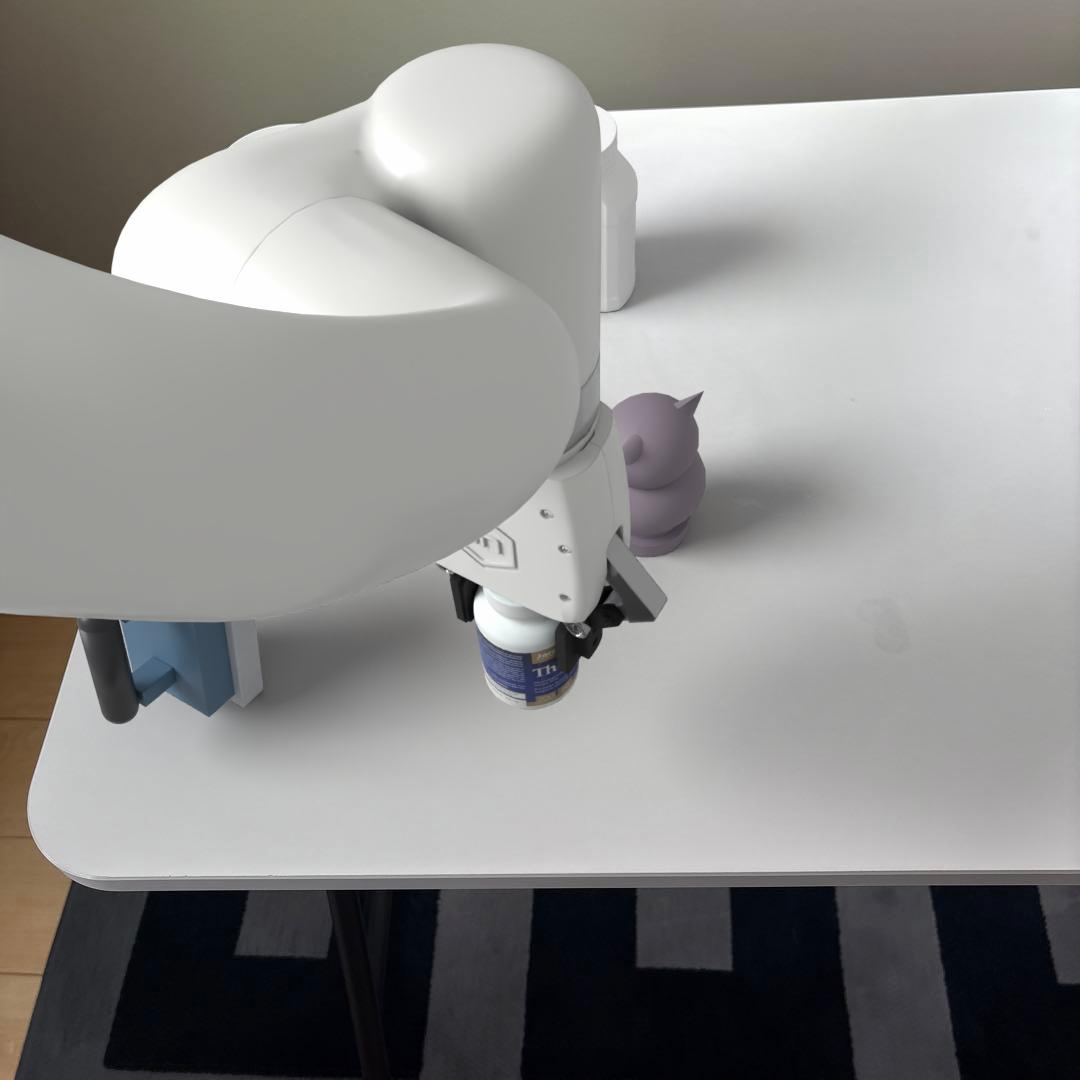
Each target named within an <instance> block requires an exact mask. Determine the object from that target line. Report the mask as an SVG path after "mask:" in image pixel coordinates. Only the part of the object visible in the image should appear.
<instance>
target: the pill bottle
mask: <svg viewBox="0 0 1080 1080" xmlns="http://www.w3.org/2000/svg"><path fill="white" fill-rule="evenodd" d="M474 617H475V618H474V621H475V622H474V623H475V628H476V632H477V640H478V641H477V642H478V646H479V653H480V659H481V665H482V670H483V675H484V678H485V681H486V684H487V686H488V688H489V689H490V691H491V692H492V693H493V694H494V696H495V697H496V698H497V699H498V700H500V701H502V702H503V703H505V704H507V705H509V706H511V707H512V708H513V707H514V708H517V709H519V710H524V711H525V710H526V711H534V710H535V711H536V710H541V709H545V708H547V707H550V706H553V705H555V704H557V703H559V702H560V701H562V700H563V699H564V698H565V697H566V696H567V695H568V694H569V693H570V692H571V690H573V687H574V686H575V683H576V682H577V679H578V676H579V675H578V674H579V669H580V660H579V661H578V662H577V664H576V665H575V667H574V668H573V670H572V671H571V673H570V674H566V673H564V672H562V671H560V670H559V667H558V666H557V662H556V646H555V630H556V628H557V626H558V624H559V623H560V621H557V620H554V619H551V618H548V617H546V616H544V615H541V614H539V613H537V612H535V611H533V610H530V609H528V608H526V607H524V606H522V605H520V604H518V603H516V602H514V601H512V600H510V599H508V598H505V597H503V596H501V595H499V594H497V593H495V592H493V591H491V590H489V589H487V588H485V587H483V586H481V585H479V587H478V589H477V591H476V594H475V598H474Z"/></svg>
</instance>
